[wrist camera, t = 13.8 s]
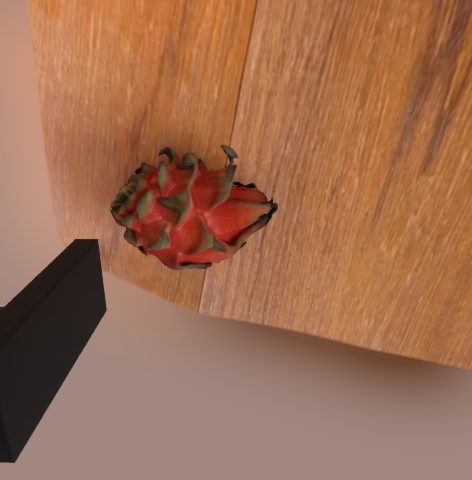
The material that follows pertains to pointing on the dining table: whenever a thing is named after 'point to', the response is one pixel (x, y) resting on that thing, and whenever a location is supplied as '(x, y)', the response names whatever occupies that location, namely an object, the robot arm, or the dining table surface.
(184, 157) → the dragon fruit
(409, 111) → the dining table surface
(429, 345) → the dining table surface
